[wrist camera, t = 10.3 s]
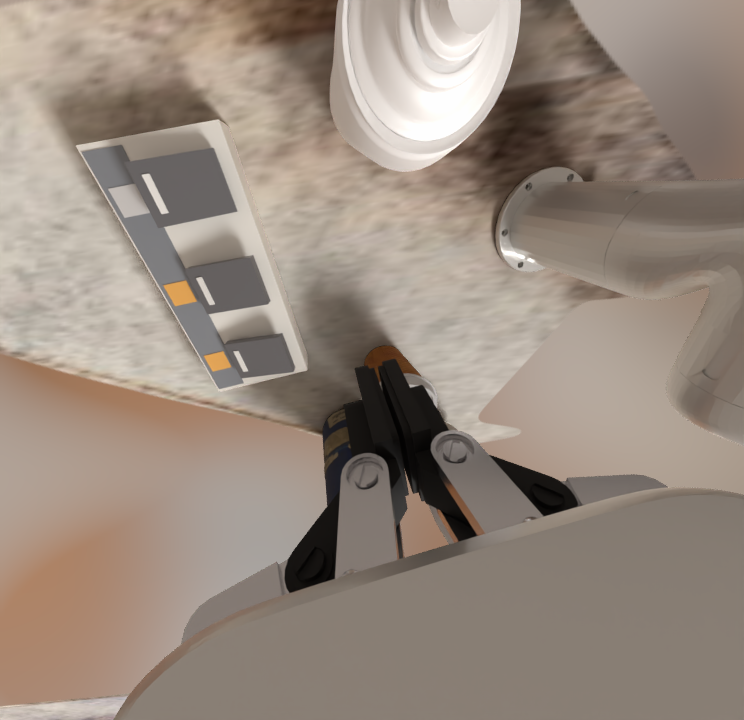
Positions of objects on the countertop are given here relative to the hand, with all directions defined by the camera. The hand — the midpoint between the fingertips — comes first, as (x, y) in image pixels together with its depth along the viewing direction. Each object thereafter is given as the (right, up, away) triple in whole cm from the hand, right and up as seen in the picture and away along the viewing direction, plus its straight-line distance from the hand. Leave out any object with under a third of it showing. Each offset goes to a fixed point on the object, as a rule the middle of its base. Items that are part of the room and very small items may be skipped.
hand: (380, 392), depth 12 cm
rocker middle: (-15, +9, +19) cm, 26 cm away
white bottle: (-1, +27, +18) cm, 33 cm away
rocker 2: (-14, +2, +24) cm, 28 cm away
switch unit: (-18, +12, +24) cm, 32 cm away
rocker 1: (-17, +17, +14) cm, 28 cm away
